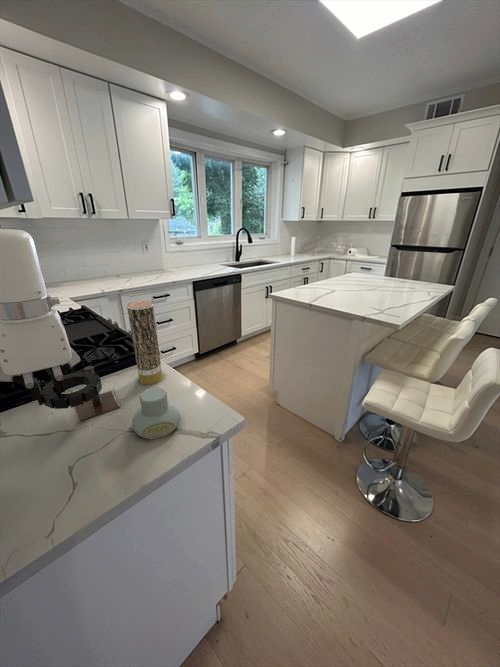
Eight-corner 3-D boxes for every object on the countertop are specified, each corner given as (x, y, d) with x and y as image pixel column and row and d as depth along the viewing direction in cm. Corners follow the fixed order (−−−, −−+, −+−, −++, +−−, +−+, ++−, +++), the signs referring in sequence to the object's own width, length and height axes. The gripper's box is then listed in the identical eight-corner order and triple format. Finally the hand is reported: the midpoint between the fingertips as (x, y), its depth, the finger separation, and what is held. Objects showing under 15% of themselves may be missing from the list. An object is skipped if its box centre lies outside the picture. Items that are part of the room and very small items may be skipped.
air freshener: (134, 447, 62) (127, 410, 58) (133, 423, 69) (127, 389, 65) (184, 434, 65) (180, 399, 62) (178, 413, 72) (175, 380, 69)
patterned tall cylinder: (161, 374, 91) (152, 300, 81) (163, 384, 85) (153, 306, 75) (139, 377, 88) (127, 302, 79) (140, 389, 82) (126, 308, 73)
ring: (45, 415, 49) (42, 406, 49) (42, 389, 57) (39, 381, 56) (106, 396, 55) (104, 388, 54) (96, 375, 62) (94, 367, 62)
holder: (82, 425, 68) (69, 381, 63) (76, 406, 75) (65, 365, 70) (120, 411, 73) (112, 369, 68) (112, 394, 80) (104, 356, 75)
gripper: (75, 296, 54) (93, 377, 61) (-40, 309, 45) (-3, 403, 52) (81, 305, 48) (100, 394, 55) (-48, 323, 39) (-6, 426, 46)
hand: (50, 398), depth 53 cm, fingers closed on ring, 2 cm apart
